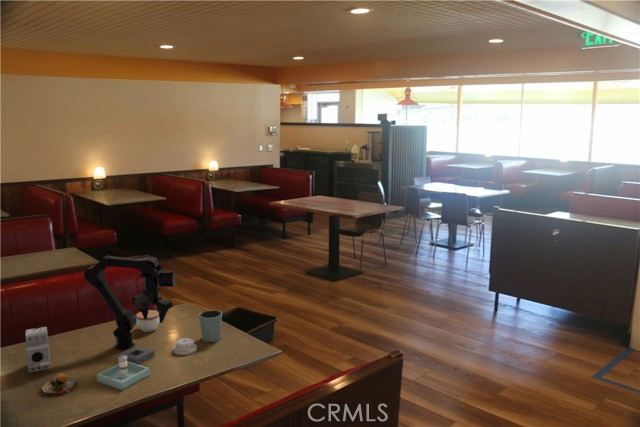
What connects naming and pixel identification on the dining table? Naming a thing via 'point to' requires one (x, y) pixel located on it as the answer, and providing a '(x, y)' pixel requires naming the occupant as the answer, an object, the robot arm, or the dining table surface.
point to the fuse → (123, 366)
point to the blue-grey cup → (211, 325)
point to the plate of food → (59, 385)
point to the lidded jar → (148, 321)
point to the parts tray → (113, 379)
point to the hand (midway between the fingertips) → (153, 320)
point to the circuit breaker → (37, 349)
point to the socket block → (138, 355)
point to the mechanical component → (185, 346)
